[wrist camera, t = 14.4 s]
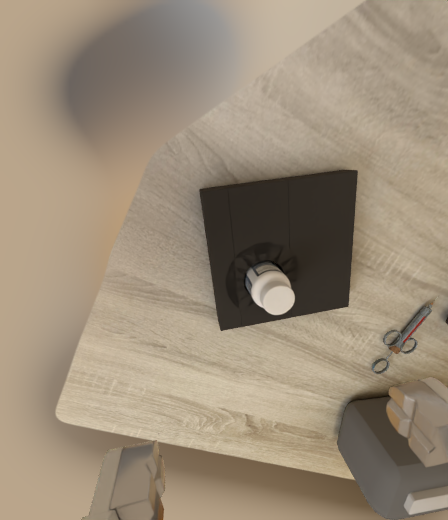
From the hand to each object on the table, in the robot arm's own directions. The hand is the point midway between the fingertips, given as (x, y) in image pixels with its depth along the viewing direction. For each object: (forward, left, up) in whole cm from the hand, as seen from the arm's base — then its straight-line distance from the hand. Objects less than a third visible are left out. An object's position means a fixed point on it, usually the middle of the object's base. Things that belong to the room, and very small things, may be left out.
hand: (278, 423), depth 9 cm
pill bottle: (+7, -8, -29) cm, 31 cm away
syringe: (+33, -25, -29) cm, 51 cm away
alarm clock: (+29, -44, -29) cm, 60 cm away
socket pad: (+10, -5, -29) cm, 31 cm away
